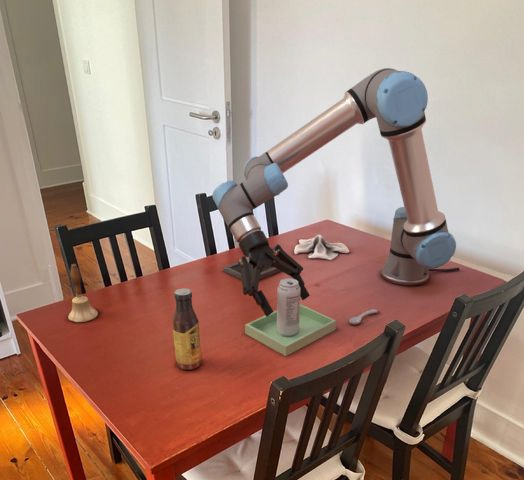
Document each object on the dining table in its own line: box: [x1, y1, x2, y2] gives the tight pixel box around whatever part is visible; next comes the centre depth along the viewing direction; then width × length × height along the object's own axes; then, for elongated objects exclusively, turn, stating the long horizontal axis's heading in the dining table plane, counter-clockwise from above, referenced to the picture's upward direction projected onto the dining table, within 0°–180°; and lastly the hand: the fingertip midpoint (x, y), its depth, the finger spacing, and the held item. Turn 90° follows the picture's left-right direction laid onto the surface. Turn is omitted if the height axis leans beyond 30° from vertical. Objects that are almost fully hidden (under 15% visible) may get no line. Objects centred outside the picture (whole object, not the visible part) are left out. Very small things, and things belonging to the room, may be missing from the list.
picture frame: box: [222, 260, 281, 281], centre depth 181 cm, size 13×2×18 cm
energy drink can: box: [276, 277, 301, 337], centre depth 140 cm, size 6×6×15 cm
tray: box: [244, 303, 337, 357], centre depth 145 cm, size 20×16×3 cm
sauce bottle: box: [172, 287, 202, 371], centre depth 127 cm, size 6×6×20 cm
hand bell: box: [67, 263, 99, 323], centre depth 150 cm, size 8×8×16 cm
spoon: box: [348, 308, 379, 325], centre depth 151 cm, size 3×12×2 cm, turn 134°
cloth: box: [293, 234, 351, 261], centre depth 195 cm, size 22×19×6 cm
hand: (288, 306), depth 140 cm, fingers open, 13 cm apart
